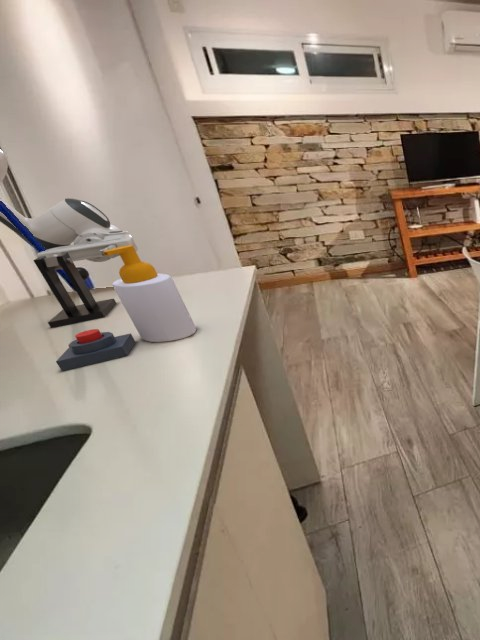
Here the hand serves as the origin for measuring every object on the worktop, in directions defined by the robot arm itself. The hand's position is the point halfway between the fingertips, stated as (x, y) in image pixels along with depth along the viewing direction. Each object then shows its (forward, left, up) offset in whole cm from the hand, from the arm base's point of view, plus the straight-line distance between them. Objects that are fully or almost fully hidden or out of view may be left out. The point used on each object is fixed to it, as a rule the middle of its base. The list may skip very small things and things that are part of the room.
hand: (82, 256), depth 131 cm
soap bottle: (+22, -50, -12) cm, 56 cm away
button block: (+11, -54, -12) cm, 56 cm away
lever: (0, -13, -2) cm, 13 cm away
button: (+11, -54, -8) cm, 56 cm away
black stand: (0, -17, -12) cm, 21 cm away
